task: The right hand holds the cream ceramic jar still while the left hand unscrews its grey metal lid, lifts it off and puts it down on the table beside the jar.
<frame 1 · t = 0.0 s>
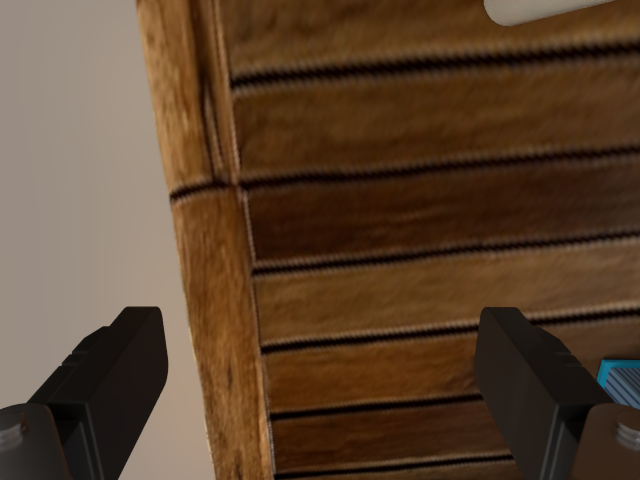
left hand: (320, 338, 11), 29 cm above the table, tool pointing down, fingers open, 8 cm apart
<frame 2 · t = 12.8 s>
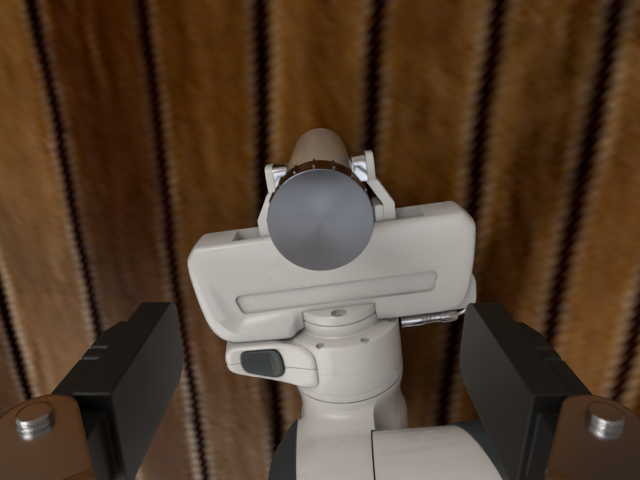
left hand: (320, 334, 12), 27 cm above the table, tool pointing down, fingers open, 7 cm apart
right hand: (317, 158, 31), fingers closed on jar, 4 cm apart
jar: (320, 156, 37), on the table, touching right hand
lid: (320, 219, 21), point 17 cm above the table, screwed on, not yet turned
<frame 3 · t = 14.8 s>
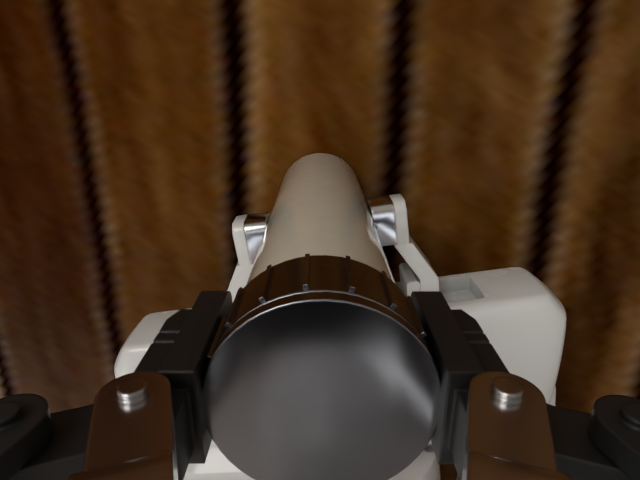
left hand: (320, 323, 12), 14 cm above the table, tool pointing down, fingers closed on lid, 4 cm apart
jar: (320, 192, 26), on the table, touching right hand
lid: (321, 395, 9), point 17 cm above the table, screwed on, not yet turned, touching left hand
when the left hand's fingers open (15 cm above the table, at t = 16.2 s): lid stays where it is, point 17 cm above the table.
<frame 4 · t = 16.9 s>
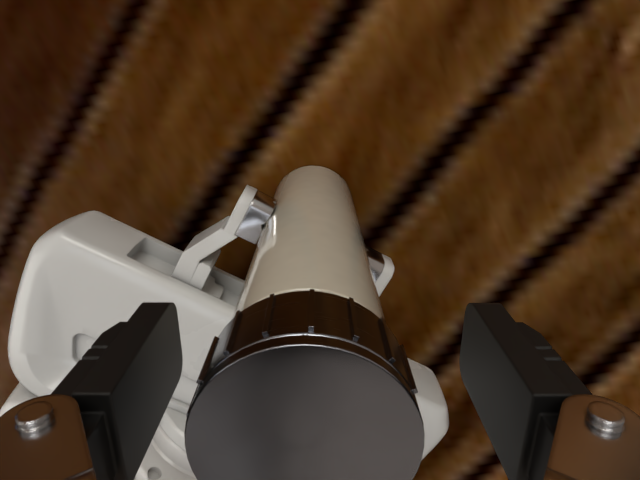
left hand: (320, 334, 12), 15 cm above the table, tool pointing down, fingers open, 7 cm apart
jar: (313, 204, 26), on the table, touching right hand
lid: (305, 434, 9), point 17 cm above the table, turned 68° so far, risen 0.2 cm, still on its thread
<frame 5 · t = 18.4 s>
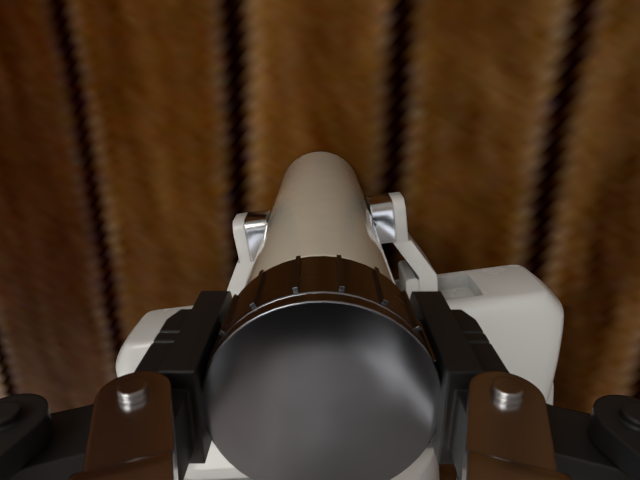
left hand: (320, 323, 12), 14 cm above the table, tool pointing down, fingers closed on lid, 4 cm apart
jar: (320, 190, 26), on the table, touching right hand
lid: (321, 396, 9), point 17 cm above the table, turned 68° so far, risen 0.2 cm, still on its thread, touching left hand
when the left hand's fingers open (1 cm above the table, at t = 24.3 s): lid drops 2 cm, point 2 cm above the table.
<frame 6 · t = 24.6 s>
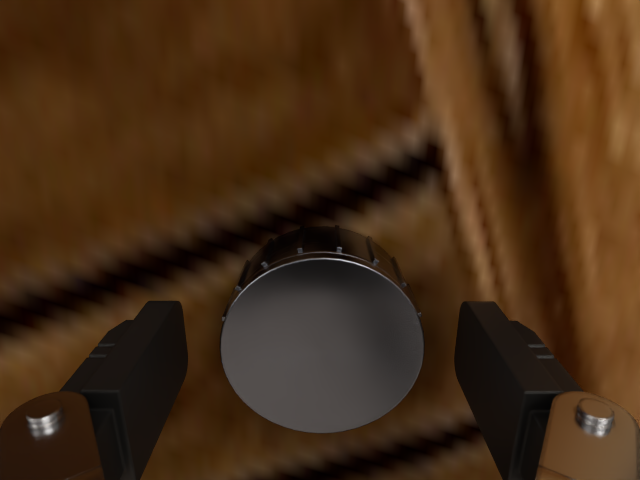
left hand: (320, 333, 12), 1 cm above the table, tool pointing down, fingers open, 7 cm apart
lid: (322, 344, 11), point 2 cm above the table, off its thread
when the right hand's fingers open (6 cm above the table, at t = 25.4 s): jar stays where it is, on the table.
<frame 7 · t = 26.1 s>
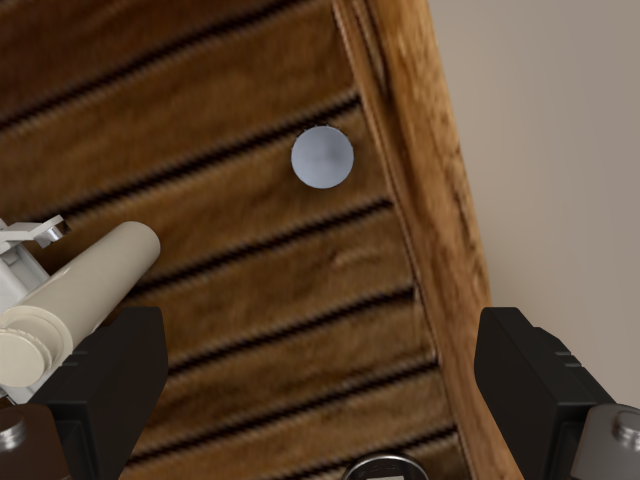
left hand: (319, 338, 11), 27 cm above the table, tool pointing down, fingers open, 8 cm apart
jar: (135, 245, 40), on the table
lid: (322, 157, 35), point 2 cm above the table, off its thread
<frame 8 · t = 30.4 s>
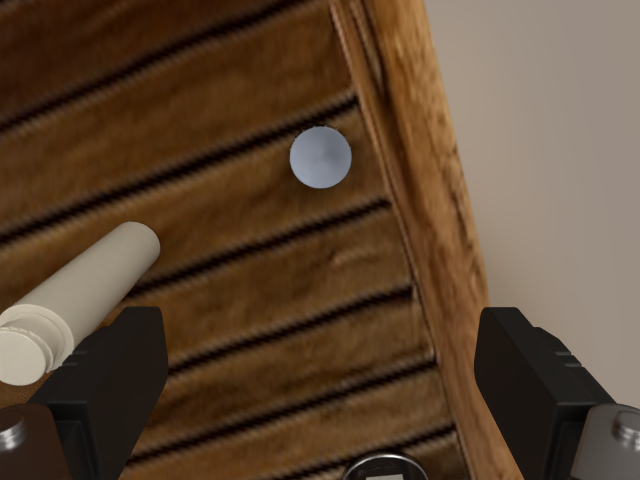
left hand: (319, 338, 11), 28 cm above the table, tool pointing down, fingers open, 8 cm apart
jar: (135, 245, 40), on the table
lid: (320, 157, 36), point 2 cm above the table, off its thread
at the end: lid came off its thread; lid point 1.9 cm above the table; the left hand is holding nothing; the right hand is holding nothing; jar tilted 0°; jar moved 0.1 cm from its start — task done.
